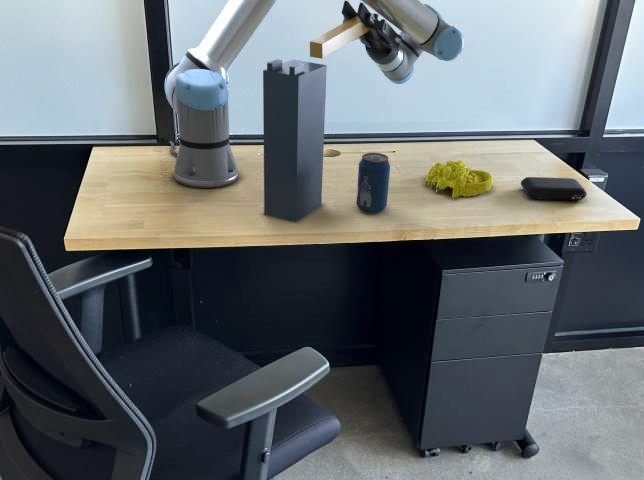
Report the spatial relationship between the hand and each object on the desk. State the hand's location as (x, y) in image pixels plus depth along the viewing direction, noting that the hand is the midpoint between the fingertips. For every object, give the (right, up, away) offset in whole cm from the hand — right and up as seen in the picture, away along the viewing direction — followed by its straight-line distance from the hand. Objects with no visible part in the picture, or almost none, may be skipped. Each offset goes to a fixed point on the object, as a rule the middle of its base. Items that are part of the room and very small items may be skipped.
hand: (352, 8), depth 163 cm
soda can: (+4, -43, +6) cm, 44 cm away
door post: (-13, -44, +3) cm, 46 cm away
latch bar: (-2, -7, +1) cm, 7 cm away
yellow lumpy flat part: (+27, -33, +21) cm, 48 cm away
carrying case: (+49, -37, +18) cm, 64 cm away
